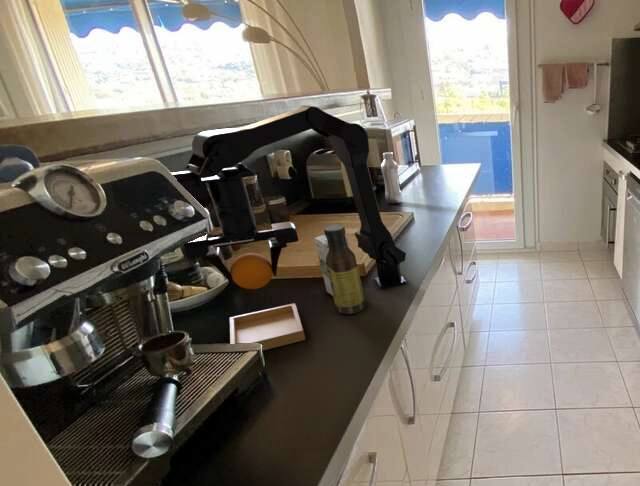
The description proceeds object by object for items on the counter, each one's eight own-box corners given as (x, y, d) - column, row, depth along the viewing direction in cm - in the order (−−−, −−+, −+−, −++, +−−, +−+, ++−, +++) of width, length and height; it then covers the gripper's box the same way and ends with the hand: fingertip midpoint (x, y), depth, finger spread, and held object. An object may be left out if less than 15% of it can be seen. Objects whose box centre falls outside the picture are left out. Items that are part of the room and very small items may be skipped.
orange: (277, 290, 90) (269, 256, 86) (236, 298, 86) (225, 264, 83) (275, 277, 95) (266, 245, 92) (235, 284, 92) (225, 252, 89)
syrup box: (358, 292, 111) (348, 236, 104) (335, 300, 107) (323, 243, 100) (348, 285, 114) (337, 231, 108) (325, 292, 110) (313, 237, 104)
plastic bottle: (400, 205, 181) (394, 154, 172) (383, 205, 181) (376, 154, 173) (404, 201, 187) (398, 151, 178) (388, 200, 187) (381, 151, 178)
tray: (305, 339, 91) (303, 330, 90) (233, 358, 85) (230, 348, 84) (297, 311, 101) (295, 303, 100) (232, 326, 95) (229, 317, 94)
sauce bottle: (342, 302, 106) (326, 221, 97) (369, 302, 106) (355, 222, 97) (331, 315, 100) (313, 231, 91) (359, 316, 100) (343, 231, 91)
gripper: (283, 188, 94) (300, 257, 100) (174, 199, 85) (200, 274, 92) (289, 200, 85) (306, 274, 92) (168, 214, 76) (197, 295, 83)
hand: (254, 279), depth 90 cm, fingers closed on orange, 7 cm apart
